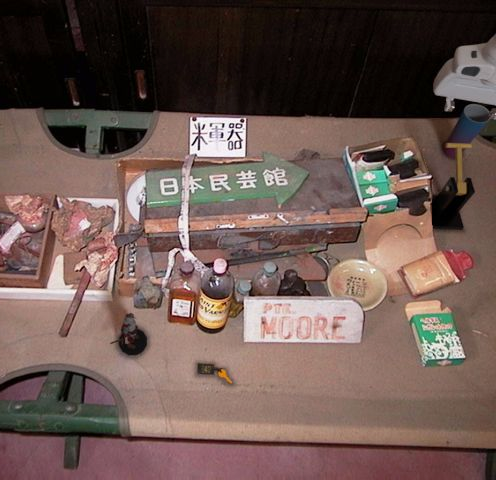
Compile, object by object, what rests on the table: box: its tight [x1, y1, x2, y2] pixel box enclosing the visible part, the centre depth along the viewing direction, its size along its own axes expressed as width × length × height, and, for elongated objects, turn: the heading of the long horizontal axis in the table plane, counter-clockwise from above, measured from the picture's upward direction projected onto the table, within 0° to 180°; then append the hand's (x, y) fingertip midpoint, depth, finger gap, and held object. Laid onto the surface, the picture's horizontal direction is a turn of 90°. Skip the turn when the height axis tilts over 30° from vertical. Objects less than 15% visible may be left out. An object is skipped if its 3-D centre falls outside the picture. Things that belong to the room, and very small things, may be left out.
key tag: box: [197, 363, 233, 384], centre depth 117 cm, size 8×3×1 cm, turn 73°
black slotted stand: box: [431, 176, 476, 231], centre depth 134 cm, size 10×9×13 cm
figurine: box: [109, 312, 148, 356], centre depth 115 cm, size 7×7×15 cm
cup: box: [442, 103, 491, 159], centre depth 144 cm, size 7×7×15 cm
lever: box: [444, 142, 473, 195], centre depth 131 cm, size 13×6×2 cm, turn 177°
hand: (469, 113), depth 118 cm, fingers open, 8 cm apart
